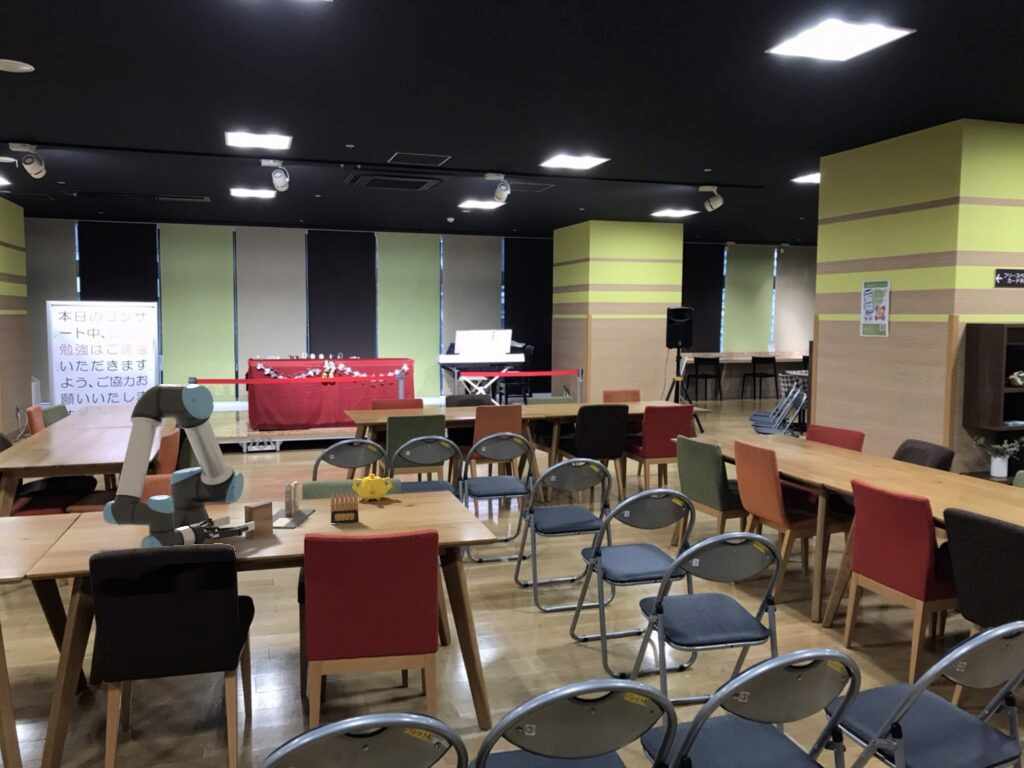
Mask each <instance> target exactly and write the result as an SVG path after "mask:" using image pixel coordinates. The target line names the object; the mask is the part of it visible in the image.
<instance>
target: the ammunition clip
mask: <svg viewBox="0 0 1024 768" xmlns="http://www.w3.org/2000/svg"><path fill="white" fill-rule="evenodd" d="M335 496H336V498H335ZM353 497H354V498H353ZM330 499H331V502H330V524H331V523H343V524H353V523H355V524H356V523H359V521H360V519H359V503H358V493H357V492H356V491H355V492H354V495H353V493H352V492H350V494H349V496H348V492H346V493H345V498H344V493H343V492H342V493H341V495H339V493H336V495H334V493H332V494H331V498H330Z"/></svg>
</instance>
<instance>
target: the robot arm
mask: <svg viewBox="0 0 1024 768" xmlns="http://www.w3.org/2000/svg"><path fill="white" fill-rule="evenodd" d="M214 406H215V404H214V396H213V395H212V392H211V391H210V389H209V388H208V387H206V386H204V385H202V384H195V383H188V384H182V383H181V384H178V383H175V384H171V383H170V384H168V383H160V384H157V385H154V386H152V387H150V388H148V389H147V390H146V391H145V392H144V393H143V394H142V395H141V396H140V397H139V399H138V400H137V402H136V403H135V405H134V407H133V410H132V412H131V416H130V422H131V424H132V425H131V430H130V433H129V434H130V435H129V439H128V443H127V447H126V450H125V451H126V452H125V456H124V460H123V464H122V467H121V473H120V476H119V481H118V485H117V489H116V495H115V497H114V498H115V499H114V500H112V501H108V502H107V503H106V504H105V506H104V508H103V511H102V516H103V519H104V522H105V523H107V524H109V525H118V526H123V525H124V526H148V535H146V536H145V537H143V538H142V540H141V544H140V549H141V548H147V547H162V546H174V545H191V544H202V545H203V544H204V543H205V541H206V540H210V539H212V540H213V541H214V540H215V541H216V540H219V539H225V538H227V539H228V538H232V537H241V536H243V534H244V533H245V532H247V531H250V530H254V529H255V523H254V522H249V523H246V524H245V523H241V524H239V525H237V526H230V527H227V526H226V527H223V526H225V525H230V522H231V521H230V519H231V518H230V516H229V515H227V516H223V517H219V518H216V519H213V518H212V517H210V516H209V514H208V512H207V509H206V503H207V504H208V503H211V504H234V503H236V502H238V501H239V500H240V499H241V496H242V494H243V490H244V485H245V484H244V483H245V479H244V475H243V474H242V472H239V471H234V468H233V466H232V465H231V464H230V463H228V462H226V459H225V458H224V455H223V453H222V452H223V451H222V450H221V448H220V444H219V442H218V439H217V437H216V435H215V431H214V430H213V427H212V425H211V423H210V419H211V416H212V414H213V411H214V408H215V407H214ZM163 419H174V421H175V423H176V425H177V427H179V428H180V429H183V430H184V432H185V434H186V437H187V439H188V441H189V444H190V446H191V448H192V451H193V453H194V455H195V457H196V460H197V463H198V464H199V466H197V467H196V466H195V467H189V468H183V469H180V470H176V471H174V472H172V474H171V476H170V491H171V493H170V494H171V495H166V494H163V495H154V496H151V497H149V498H148V499H147V501H141V499H142V493H143V490H144V485H145V481H146V476H147V473H148V472H147V471H148V468H149V463H150V459H151V454H152V450H153V446H154V441H155V437H156V434H157V430H158V429H157V428H159V427H161V425H162V422H163Z"/></svg>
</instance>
